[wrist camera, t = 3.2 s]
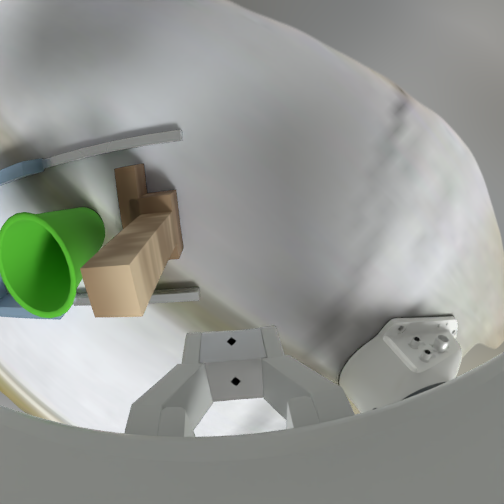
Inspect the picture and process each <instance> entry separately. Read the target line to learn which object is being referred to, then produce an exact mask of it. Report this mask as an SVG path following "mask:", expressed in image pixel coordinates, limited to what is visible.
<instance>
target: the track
mask: <svg viewBox="0 0 504 504" xmlns="http://www.w3.org/2000/svg"><path fill="white" fill-rule="evenodd" d="M182 140H183V139H182V130H173V131H166V132H159V133H153V134H147V135H141V136H136V137H130V138H125V139H120V140H115V141H111V142H106V143H102V144H97V145H93V146H89V147H85V148H81V149H77V150H74V151H70V152H66V153H63V154H59V155H56V156H53V157H49V158H46V159H43V160H42V167H43V169H44V168H49V167H52V166H56V165H59V164H63V163H67V162H71V161H74V160H78V159H83V158H87V157H91V156H95V155H100V154H104V153H109V152H114V151H119V150H124V149H130V148H135V147H141V146H147V145H153V144H160V143H167V142H174V141H182ZM199 300H200V290H199V287H193V288H178V289H163V290H154V292H153V294H152V296H151V298H150V301H149V303H166V302H183V301H199ZM73 304H74V306H77V305H91V303H90V300H89V297H88V294H87V293H81V294H76V296H75V299H74V302H73Z"/></svg>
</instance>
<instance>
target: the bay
mask: <svg viewBox="0 0 504 504" xmlns="http://www.w3.org/2000/svg"><path fill="white" fill-rule="evenodd" d="M42 160H43V158H42V159H35V160H29V161H23V162H20V163H17V164H14V165H12V166H9V167H7V168H4V169H2V170H0V185H3V184H6V183H9V182H12V181H14V180H17V179H20V178H23V177H27V176H30V175H33V174H36V173H39V172H43V171H44V169H43V167H42ZM64 314H65V313H64ZM64 314H63V315H64ZM63 315H61V316H58V317H54V318H42V317H39V316H36V315H34V314H32V313H30V312H28V311H27V310H25V309H24V308H23V307H22V306H21V305H20V304H18V303H17V302H16V301H15V299H14V298H13V297H12V295H11V294H10V293H7V290H6V287H5V284H4V282H3V280H2V277H1V275H0V316H1V317H15V318H34V319H61V318H62V317H63Z"/></svg>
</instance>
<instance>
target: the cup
mask: <svg viewBox="0 0 504 504" xmlns="http://www.w3.org/2000/svg"><path fill="white" fill-rule="evenodd" d="M104 238H105V228H104V224H103V221H102V219H101V218H100V216H99V215H98V214H97V213H96V212H95V211H93V210H91V209H89V208H86V207H80V208H72V209H66V210H59V211H53V212H46V213H40V214H32V213H27V212H23V213H17V214H15V215H13V216H11V217H10V218H8V220H7V221H6V222H5V223H4V225H3V226H2V228H1V230H0V275H1V277H2V280H3V282H4V284H5V286H6V288H7V290H8V291H9V293H10V294H11V295H12V297H13V298H14V299H15V301H16V302H17V303H18V304H20V305H21V306H22V307H23V308H24V309H25V310H27V311H28V312H30V313H32V314H34V315H36V316H39V317H42V318H54V317H58V316H61V315H63V314H64V313H66V312H67V311H68V310H69V309H70V307H71V306H72V304H73V302H74V299H75V296H76V289H77V287H78V285H79V283H80V282H81V280H82V278H83V277H82V274H81V270H80V268H81V267H82V266H83V265H84V264H85V263H86V262H87V261H88V260H90V259H91V258H92V257H93V256H94V255H95V254H96V253H97V252H98V251H99V249H100V248H101V246H102V244H103V242H104Z"/></svg>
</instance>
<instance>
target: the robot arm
mask: <svg viewBox="0 0 504 504" xmlns="http://www.w3.org/2000/svg"><path fill="white" fill-rule="evenodd" d="M457 331H458V323H457V319H456V318H455V317H454V316H446V317H423V318H394V319H392V320H390V321H389V322H388V323H387V324H386V325H385V326H384V327H383V329H382V330H381V331H380V332H379V334H378V335H377V336H376V337H375V338H373V339H372V340H371V341H369V342H368V343H366V344H365V345H364V346H362V347H361V348H360V349H359V350H358V351H357V352H356V353H355V354H354V355H353V356H352V357H351V358H350V359H349V361H348V362H347V363H346V365H345V366H344V368H343V370H342V372H341V375H340V380H339V385H340V386H339V385H337V384H335V383H334V382H332V381H330V380H329V379H327V378H325V377H324V376H322V375H320V374H319V373H317V372H315V371H314V370H312V369H311V368H309V367H307V366H306V365H304V364H303V363H301V362H299V361H298V360H296V359H295V358H293V357H291V356H290V355H284V351H283V348H282V345H281V342H280V338H279V335H278V332H277V328H276V326H267V327H260V328H255V329H246V330H235V331H216V332H202V333H201V332H196V333H187V335H186V339H185V345H184V352H183V358H182V364H177V365H176V366H175V367H174V368H173V369H172V370H171V371H169V372H168V373H167V374H166V375H165V376H164V377H163V378H162V379H160V380H159V381H158V382H157V383H156V384H155V385H154V386H152V387H151V388H150V389H149V390H148V391H147V392H146V393H144V394H143V395H142V396H141V397H140V398H139V399H138V400H136V401H135V402H134V403H133V404H132V406H131V409H130V413H129V417H128V421H127V425H126V429H125V433H116V432H108V431H101V430H94V429H88V428H83V427H77V426H72V425H68V424H63V423H59V422H54V421H50V420H46V419H42V418H39V417H35V416H32V415H28V414H25V413H22V412H19V411H15V410H12V409H9V408H7V407H4V406H1V405H0V504H504V352H503V353H501V354H499V355H498V356H496V357H494V358H492V359H491V360H489V361H487V362H485V363H484V364H482V365H480V366H478V367H476V368H474V369H472V370H471V371H468V372H466V373H465V374H463V375H460V376H459V377H456V376H457V373H458V369H459V367H460V363H461V359H462V350H461V347H460V344H459V343H458V341H457V340H456V336H457ZM346 396H347V397H348V398H349V399H350V400H351V401H352V402H353V404H354V405H355V406H356V408H357V409H358V410H359V412H360V414H356V415H355V414H354V412H353V410H352V408H351V405H350V403H349V401H348V399H347V397H346ZM262 397H264V399H265V400H266V401H267V402H268V403H269V404H270V405H271V406H272V407H273V408H274V409H275V410H276V411H277V412H278V413H279V414H280V415H281V416H282V417H284V418H285V419H286V420H287V421H286V429H285V430H278V431H271V432H263V433H254V434H243V435H230V436H210V437H195V434H194V431H193V430H194V429H195V428H196V426H197V425H198V424H199V422H200V421H201V419H202V418H203V416H204V415H205V414H206V412H207V411H208V409H209V408H210V407H211V405H212V404H213V402H215V401H226V400H236V399H250V398H262Z"/></svg>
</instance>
